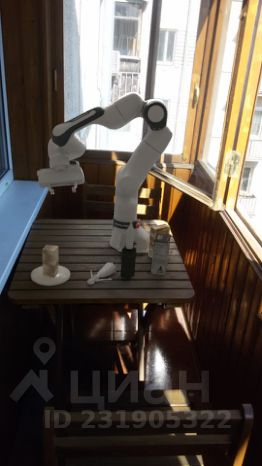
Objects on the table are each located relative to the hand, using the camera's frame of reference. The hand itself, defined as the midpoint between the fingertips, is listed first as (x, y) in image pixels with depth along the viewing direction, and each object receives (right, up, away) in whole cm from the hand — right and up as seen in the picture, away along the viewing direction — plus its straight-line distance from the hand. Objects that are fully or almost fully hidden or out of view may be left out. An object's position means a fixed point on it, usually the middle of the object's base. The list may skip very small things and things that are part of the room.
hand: (63, 192), depth 170 cm
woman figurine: (+17, -37, -5) cm, 41 cm away
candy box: (+42, -29, +17) cm, 54 cm away
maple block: (-4, -35, -8) cm, 36 cm away
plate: (-4, -36, -8) cm, 37 cm away
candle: (+28, -36, -3) cm, 46 cm away
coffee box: (+42, -34, +4) cm, 55 cm away
